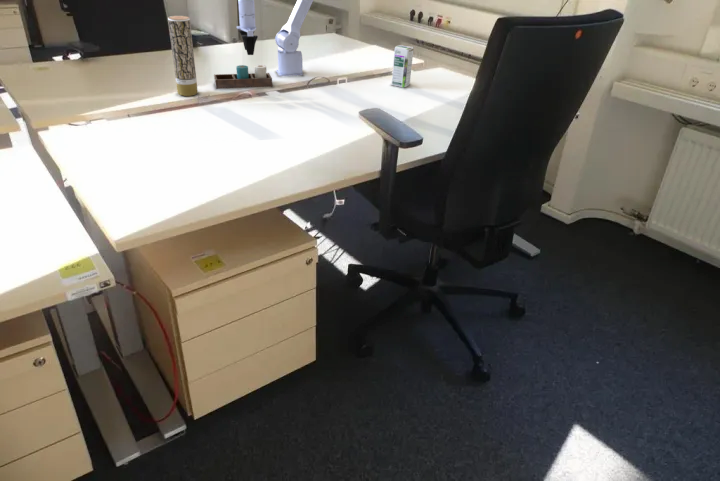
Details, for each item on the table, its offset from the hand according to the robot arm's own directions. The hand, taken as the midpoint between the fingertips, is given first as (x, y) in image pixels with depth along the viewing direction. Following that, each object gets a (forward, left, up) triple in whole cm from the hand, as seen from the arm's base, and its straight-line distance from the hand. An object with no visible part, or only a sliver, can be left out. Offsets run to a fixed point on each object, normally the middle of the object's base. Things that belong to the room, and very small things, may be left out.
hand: (249, 52), depth 203 cm
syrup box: (-56, +17, -10) cm, 59 cm away
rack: (+4, +11, -9) cm, 15 cm away
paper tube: (+24, +18, -10) cm, 31 cm away
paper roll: (+4, +11, -9) cm, 15 cm away
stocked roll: (-2, +11, -9) cm, 14 cm away
